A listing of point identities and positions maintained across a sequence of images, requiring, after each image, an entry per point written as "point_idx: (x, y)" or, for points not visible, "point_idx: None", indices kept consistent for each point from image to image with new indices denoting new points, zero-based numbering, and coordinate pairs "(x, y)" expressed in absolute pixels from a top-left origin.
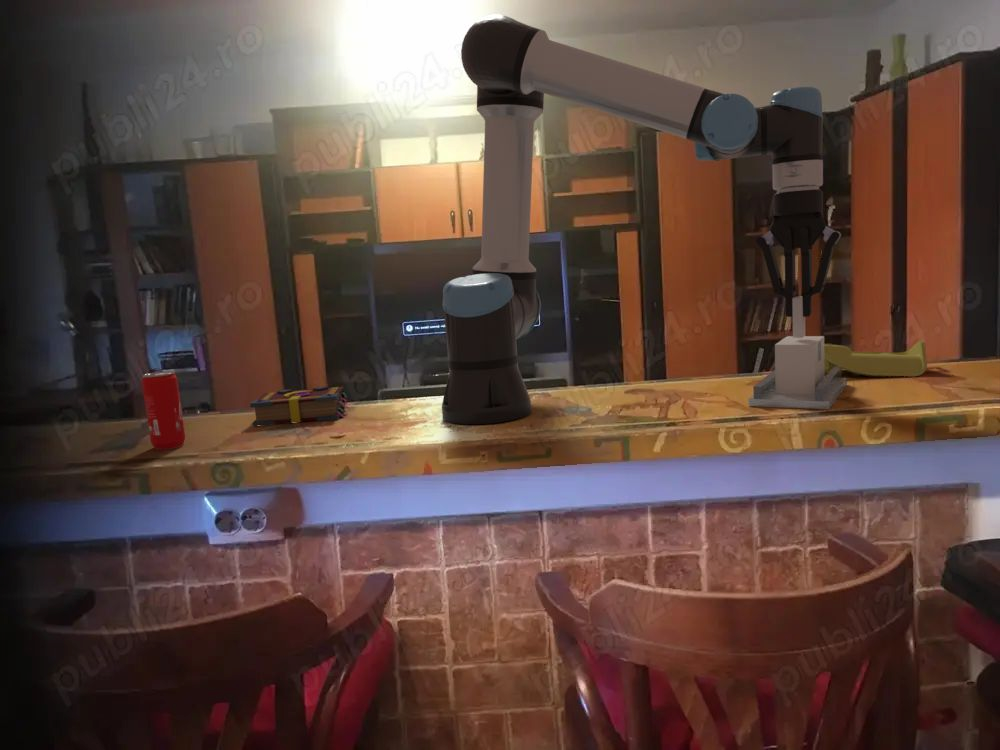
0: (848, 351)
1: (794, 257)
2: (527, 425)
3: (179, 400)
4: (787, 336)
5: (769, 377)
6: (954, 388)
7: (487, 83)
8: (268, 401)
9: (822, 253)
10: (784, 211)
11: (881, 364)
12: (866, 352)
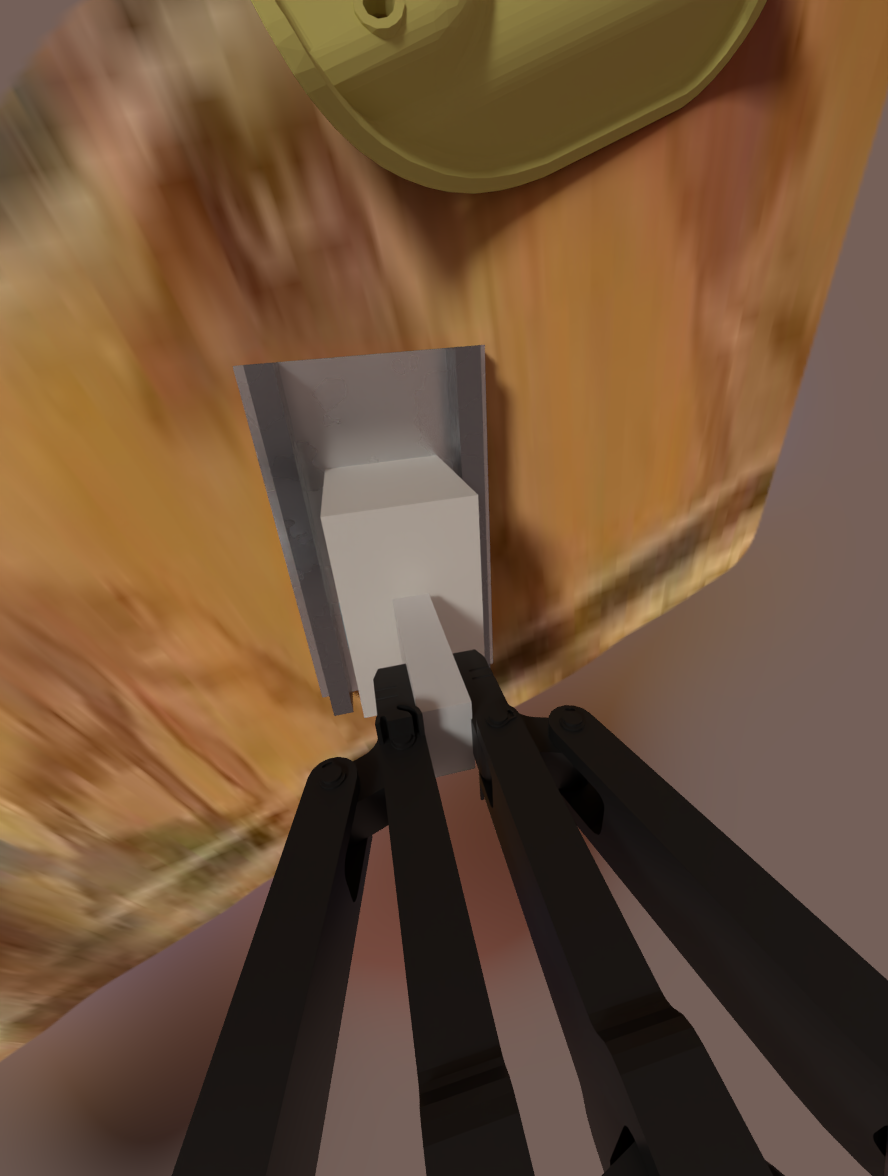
0: (478, 17)
1: (496, 1044)
2: (6, 947)
3: None
4: (325, 522)
5: (320, 604)
6: (743, 335)
7: None
8: None
9: (746, 1033)
10: None
11: (596, 79)
12: None
